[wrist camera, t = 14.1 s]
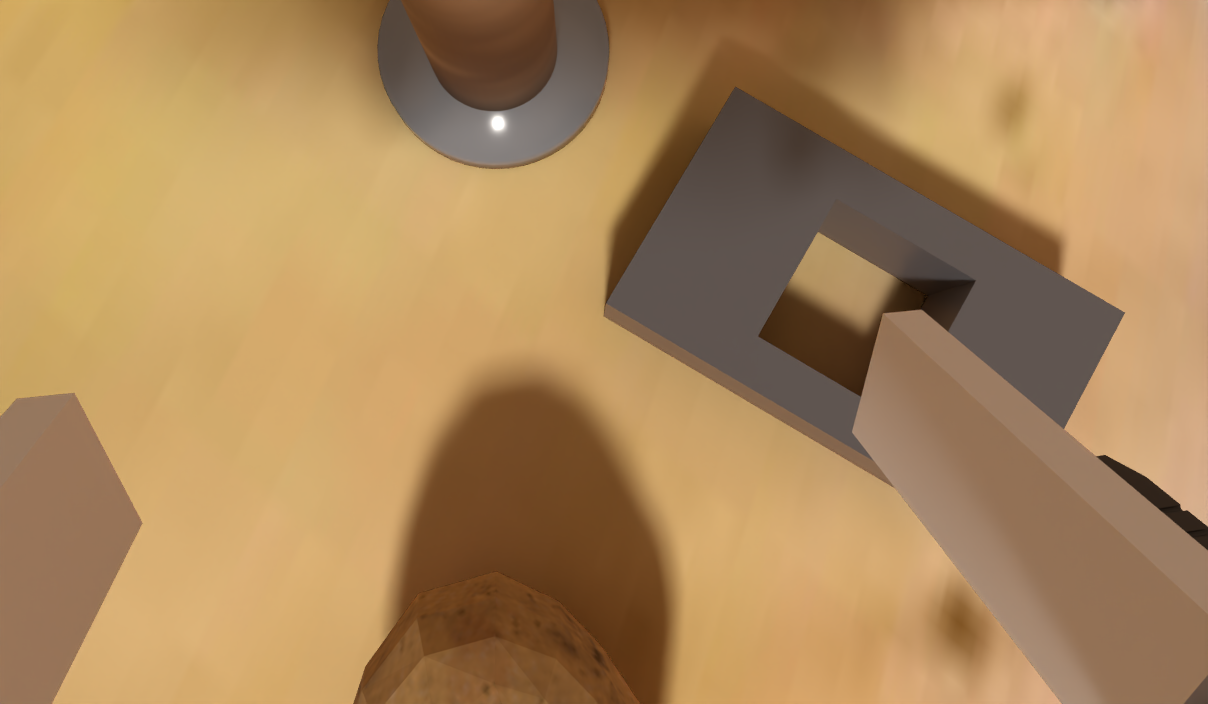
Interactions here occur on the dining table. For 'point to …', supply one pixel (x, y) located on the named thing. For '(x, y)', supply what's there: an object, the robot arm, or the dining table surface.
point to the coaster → (509, 131)
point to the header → (862, 225)
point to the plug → (488, 48)
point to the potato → (490, 651)
